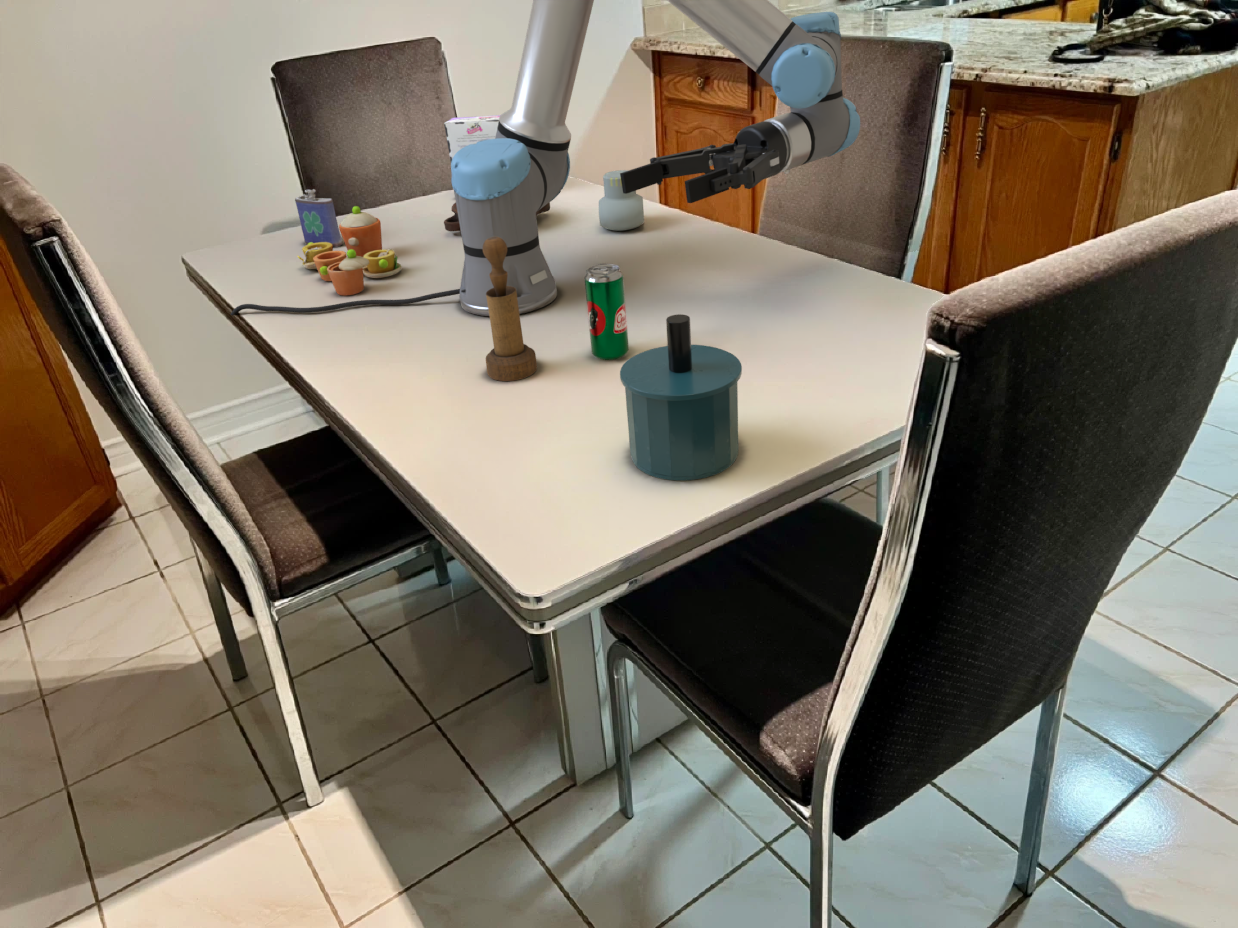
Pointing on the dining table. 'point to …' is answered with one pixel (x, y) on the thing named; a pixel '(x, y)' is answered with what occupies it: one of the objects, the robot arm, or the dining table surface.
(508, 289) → the mortar and pestle
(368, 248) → the toy tea set
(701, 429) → the pot
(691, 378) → the pot lid
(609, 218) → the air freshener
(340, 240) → the flask
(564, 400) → the dining table surface
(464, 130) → the candy box
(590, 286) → the soda can
